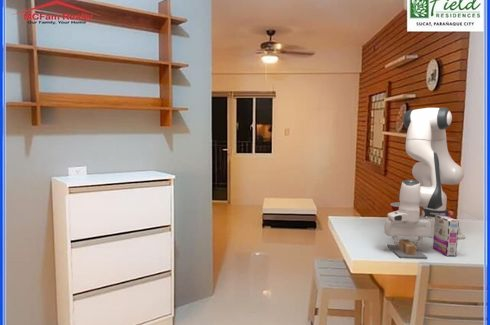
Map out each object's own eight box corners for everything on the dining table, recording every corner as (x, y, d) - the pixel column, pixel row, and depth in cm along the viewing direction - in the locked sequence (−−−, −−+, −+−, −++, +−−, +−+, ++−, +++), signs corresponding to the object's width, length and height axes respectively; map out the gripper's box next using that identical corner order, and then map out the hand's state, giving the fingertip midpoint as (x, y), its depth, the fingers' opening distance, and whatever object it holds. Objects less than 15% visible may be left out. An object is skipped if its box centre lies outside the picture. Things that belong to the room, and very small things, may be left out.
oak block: (407, 245, 168) (399, 239, 178) (406, 254, 169) (398, 247, 179) (416, 246, 168) (407, 239, 178) (415, 254, 168) (407, 247, 178)
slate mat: (412, 247, 182) (412, 245, 182) (427, 259, 166) (427, 257, 166) (387, 246, 182) (387, 244, 182) (399, 258, 166) (399, 256, 166)
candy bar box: (457, 256, 170) (459, 220, 168) (446, 256, 170) (449, 220, 168) (442, 248, 181) (444, 214, 180) (432, 248, 181) (434, 214, 179)
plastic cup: (386, 221, 232) (387, 201, 231) (403, 221, 233) (404, 201, 232) (394, 225, 221) (395, 205, 220) (412, 225, 222) (413, 205, 221)
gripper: (428, 214, 175) (426, 244, 177) (384, 213, 176) (382, 242, 177) (435, 218, 169) (433, 248, 170) (388, 216, 170) (386, 246, 171)
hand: (406, 245), depth 174 cm, fingers open, 8 cm apart
